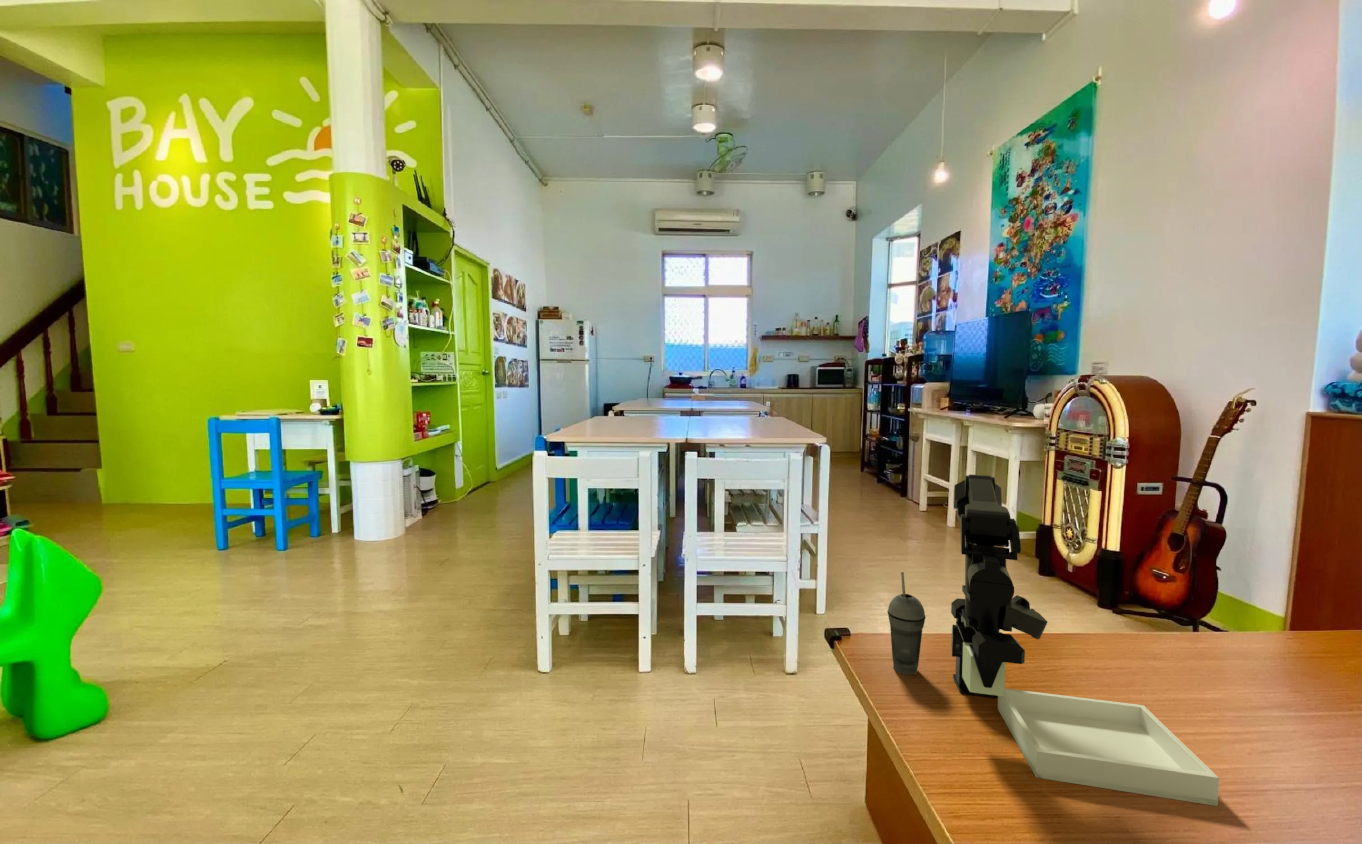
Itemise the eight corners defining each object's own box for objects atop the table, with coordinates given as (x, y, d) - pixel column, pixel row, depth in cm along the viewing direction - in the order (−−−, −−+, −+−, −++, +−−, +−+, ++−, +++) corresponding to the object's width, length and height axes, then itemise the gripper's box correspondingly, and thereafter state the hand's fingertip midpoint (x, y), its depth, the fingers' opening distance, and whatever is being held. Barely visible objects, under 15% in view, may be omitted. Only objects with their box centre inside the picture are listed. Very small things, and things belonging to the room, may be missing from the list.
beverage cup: (907, 682, 106) (909, 582, 105) (878, 665, 113) (880, 571, 112) (932, 673, 110) (934, 576, 109) (902, 657, 116) (904, 566, 115)
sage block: (969, 692, 87) (970, 655, 87) (962, 676, 92) (963, 642, 92) (1004, 696, 86) (1005, 659, 86) (994, 680, 91) (995, 645, 91)
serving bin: (1036, 777, 80) (1037, 751, 79) (997, 709, 97) (998, 687, 97) (1217, 806, 74) (1219, 778, 74) (1142, 728, 91) (1143, 705, 91)
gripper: (1066, 612, 77) (1063, 718, 78) (1020, 572, 95) (1017, 658, 96) (980, 605, 80) (977, 707, 81) (951, 567, 98) (949, 651, 99)
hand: (982, 678), depth 89 cm, fingers closed on sage block, 5 cm apart
